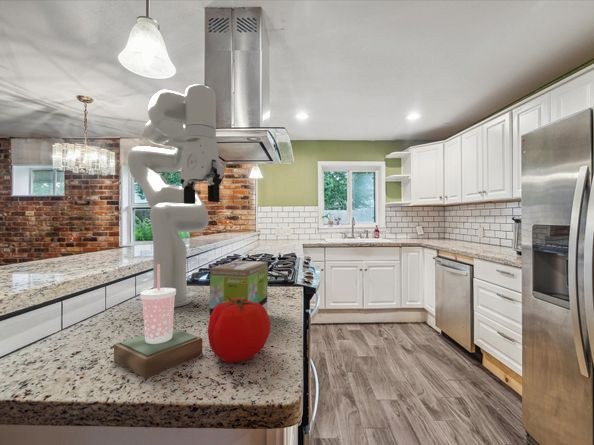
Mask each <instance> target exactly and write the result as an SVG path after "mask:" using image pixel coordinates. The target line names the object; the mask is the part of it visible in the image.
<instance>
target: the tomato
mask: <svg viewBox="0 0 594 445" xmlns="http://www.w3.org/2000/svg"><path fill="white" fill-rule="evenodd" d="M226 297H227V296H226ZM227 298H228V299H229V301H228V302H225V303H220V304H218V305H217V306H216V307H215V308H214V310H213V312H212V314H211V316H210V319H209V320H208V324H207V325H208V326H207V338H208V343H209V347H210V349H211V350H212V352H213V353H214V355H215V356H216V357H217V358H218V359H220V360H222V361H225V362H226V363H231V364H232V363H240V362H245V361H247V360H250V359H252V358H254V357H255V356H256V355H258V354H259V353H260V352H261V351H262V350H263V349H264V347H265V345H266V343H267V341H268V340H269V337H270V334H271V320H270V316H269V313H268V310H267V311H266V310H265V308H264V307H263V306H262V305H260V304H259V303H255V302H251V301H249V300H246V299H247V298H246V299H239V298H235V299H230V298H229V297H227Z"/></svg>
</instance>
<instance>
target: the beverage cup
mask: <svg viewBox="0 0 594 445" xmlns="http://www.w3.org/2000/svg"><path fill="white" fill-rule="evenodd" d="M139 294H140V298H141V302H142V315H143V327H144V334H145V341H146V343H149V344H157V343H163V342H166V341H169V340H170V339H171V338H172V333H173V328H174V314H175V313H174V312H175V311H174V310H175V307H174V299H175V295H176V289H175V288H160V264H157V288H155V289H153V288H150V289H146V290H142V291H141V292H140V293H139Z"/></svg>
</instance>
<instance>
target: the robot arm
mask: <svg viewBox="0 0 594 445" xmlns="http://www.w3.org/2000/svg"><path fill="white" fill-rule="evenodd" d="M216 97H217V96H216V93H215V91H214V90H213V89H212V88H211V87H209V86H206V85H204V84H192V85H189V86H187V88H186V89H185V92H184V94H182V93H179V92H177V91H173V90H168V89H161V90H159V91H157V93H155V94H154V95H153V96H152V97H151V99H150V101H149V104H148V111H147V112H148V119H149V121H148V122H147V123H145V126H144V127H143V135H144V136H145V138H146V140H147V141H148V142H149V143H150V144H151V143H152V144H154V145H157V146H163V147H169V148H172V149H167V148H161V147H160V148H159V147H152V146H145V145H143V146H135V147H132V149H130V150H129V152H128V154H127V164H128V169H129V172H130V175H131V176H132V178H133V180H134V181H135V182H136V183H137V184H138V185H139V187H140V188H141V190H142V193H143V195H144V198H145V199H146V202H147V204H148V206H149V207H150V211H149V223H150V226H151V233H152V242H153V243H152V244H153V246H152V249H153V250H152V251H153V252H152V253H153V288H152V289H155V288H157V264H160V288H175V289H176V295H175V299H174V308H178V307H179V308H180V307H182V306H186V305H188V304H190V303H191V302H192V300H193V297H192V296H190V295H187V289H188V288H187V283H188V282H187V281H188V280H187V246H186V243H185V240H184V239H183V238H182V237H181V236H180V235H179V234H181V233H182V234H183V233H199V232H203V231H204V230H206V229H207V227H208V226H209V222H210V221H209V220H210V217H209V213H208V210H207V208H206V206H205V205H204V202H203V201H202V199H201V198H200V196H199V195H198V193H197V191H196V189H195V187H196V184H197V182H208V184H209V185H207V202H208V203H209V202H210V203H220V198H221V197H220V187H221V186H222V181H223V179H225V178H224V175H225V172H226V169H227V168H226V166H224V165H223V164H221V163H220V156H219V154H220V153H219V149H218V148H219V147H218V142H217V107H216V105H217V100H216ZM179 171H180V172H179ZM159 172H160V173H159ZM177 172H179V174H178V177H179V179H180V184H181V185H176V184H171V183H168V181H167V179H166V178H165V176H164V175H162V174H161V173H169V174H175V173H177Z"/></svg>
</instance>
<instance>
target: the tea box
mask: <svg viewBox="0 0 594 445" xmlns="http://www.w3.org/2000/svg"><path fill="white" fill-rule="evenodd" d="M268 264H269V263H268V261H255V260H254V261H253V260H252V261H251V260H250V261H247V260H245V261H244V260H235V261H230V262H227V263H224V264H220V265H217V266H213V267H210V273H209V278H210V279H209V317H208V318H209V319H210V316H211V314H212V312H213V310H214V308H215V307H216V306H217V305H218V304H220V303H225V302H228V301H229V299H228V298H227V297H229V298H230V299H235V298H239V299H246V298H247V299H246V300H249V301H251V302H255V303H259V304H260V305H262V306H263V307H264V308H265V310H266V311H267V312H268V284H269V282H268V276H269V275H268V274H269V272H268V271H269V267H268ZM226 296H227V297H226Z"/></svg>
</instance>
